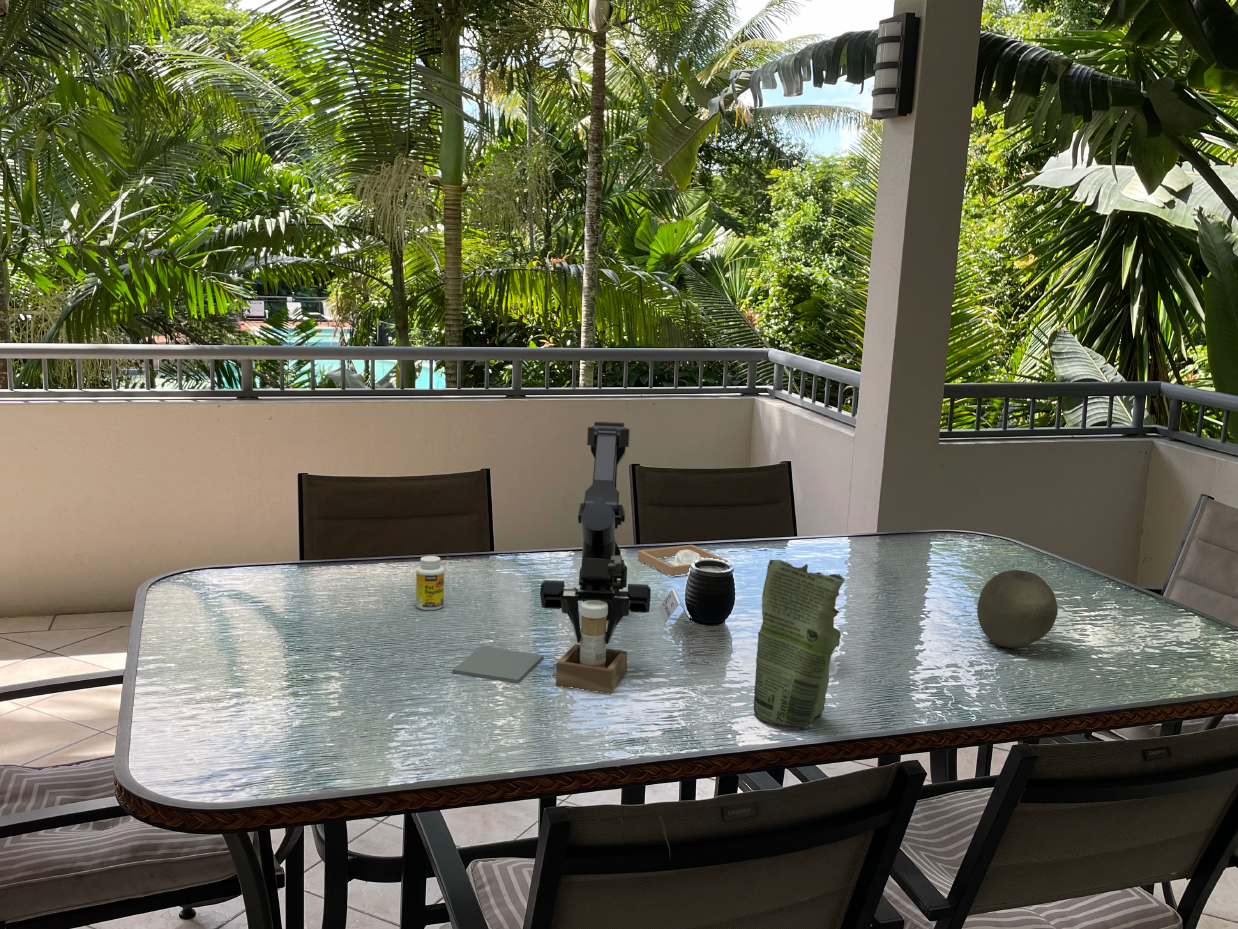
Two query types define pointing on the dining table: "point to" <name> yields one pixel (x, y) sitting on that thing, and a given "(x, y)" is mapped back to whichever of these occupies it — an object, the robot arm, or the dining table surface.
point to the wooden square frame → (652, 556)
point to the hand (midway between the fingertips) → (592, 642)
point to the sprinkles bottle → (593, 633)
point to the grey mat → (498, 664)
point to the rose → (684, 558)
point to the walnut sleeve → (591, 671)
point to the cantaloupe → (1016, 608)
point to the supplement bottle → (430, 584)
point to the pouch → (795, 644)
